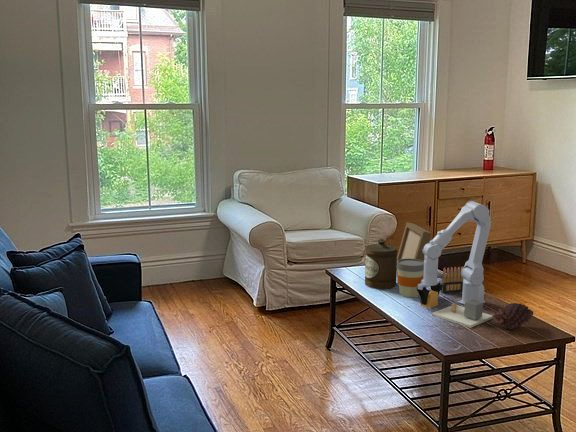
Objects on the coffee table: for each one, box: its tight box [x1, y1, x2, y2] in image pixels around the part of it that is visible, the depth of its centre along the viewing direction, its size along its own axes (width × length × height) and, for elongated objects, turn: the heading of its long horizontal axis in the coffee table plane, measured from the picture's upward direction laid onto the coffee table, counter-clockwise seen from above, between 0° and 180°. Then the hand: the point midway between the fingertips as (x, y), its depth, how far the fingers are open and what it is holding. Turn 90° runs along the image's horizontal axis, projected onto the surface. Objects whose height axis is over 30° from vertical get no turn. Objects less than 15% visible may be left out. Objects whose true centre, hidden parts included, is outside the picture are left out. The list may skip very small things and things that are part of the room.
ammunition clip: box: [440, 266, 464, 295], centre depth 278 cm, size 11×2×12 cm, turn 104°
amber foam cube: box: [420, 289, 439, 309], centre depth 261 cm, size 5×5×6 cm
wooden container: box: [364, 238, 398, 290], centre depth 288 cm, size 15×15×22 cm
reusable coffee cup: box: [396, 258, 424, 298], centre depth 275 cm, size 13×13×15 cm
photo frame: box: [397, 222, 433, 274], centre depth 302 cm, size 15×22×25 cm
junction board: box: [431, 300, 494, 329], centre depth 247 cm, size 16×18×8 cm
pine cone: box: [492, 302, 534, 330], centre depth 235 cm, size 18×10×10 cm, turn 110°
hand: (429, 302), depth 261 cm, fingers open, 7 cm apart
